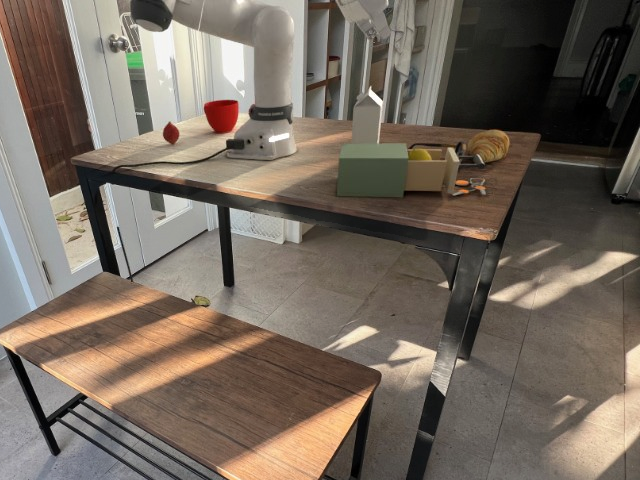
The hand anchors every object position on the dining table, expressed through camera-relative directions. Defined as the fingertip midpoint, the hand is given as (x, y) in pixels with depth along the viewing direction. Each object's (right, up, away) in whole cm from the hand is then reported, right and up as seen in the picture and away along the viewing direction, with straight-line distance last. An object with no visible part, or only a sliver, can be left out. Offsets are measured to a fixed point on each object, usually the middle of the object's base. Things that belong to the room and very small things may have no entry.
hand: (379, 37), depth 85 cm
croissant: (+41, -12, +36) cm, 56 cm away
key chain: (+27, -26, +17) cm, 41 cm away
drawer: (+18, -24, +19) cm, 36 cm away
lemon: (+17, -23, +18) cm, 33 cm away
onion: (-52, +4, +71) cm, 88 cm away
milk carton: (+9, -11, +41) cm, 44 cm away
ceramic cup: (-35, +14, +84) cm, 92 cm away
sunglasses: (+25, -15, +34) cm, 44 cm away
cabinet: (+5, -24, +23) cm, 33 cm away
